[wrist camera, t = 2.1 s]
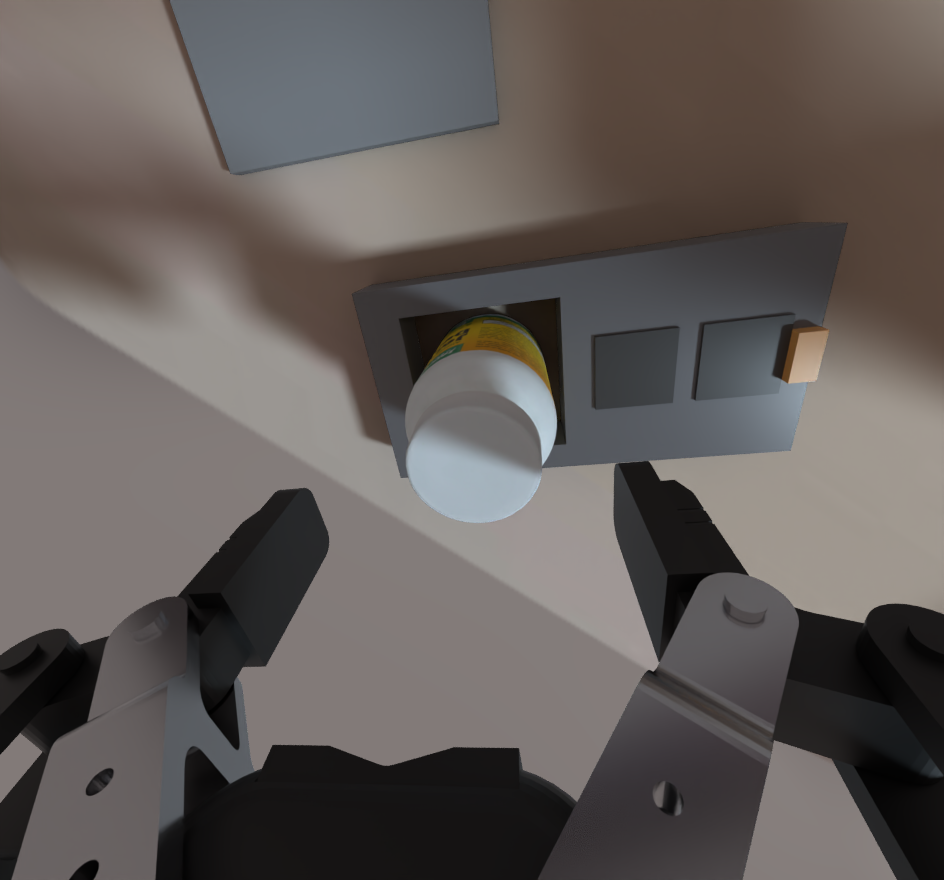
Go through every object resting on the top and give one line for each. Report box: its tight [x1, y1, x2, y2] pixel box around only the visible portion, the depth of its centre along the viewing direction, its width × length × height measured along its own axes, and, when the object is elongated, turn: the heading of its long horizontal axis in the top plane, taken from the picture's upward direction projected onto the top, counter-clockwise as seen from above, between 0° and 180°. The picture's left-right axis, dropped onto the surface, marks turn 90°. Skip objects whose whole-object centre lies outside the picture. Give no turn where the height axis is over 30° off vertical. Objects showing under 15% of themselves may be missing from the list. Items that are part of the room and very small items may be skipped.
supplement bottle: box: [405, 314, 557, 523], centre depth 16 cm, size 5×5×10 cm
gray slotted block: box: [352, 222, 848, 478], centre depth 18 cm, size 18×9×3 cm, turn 98°
